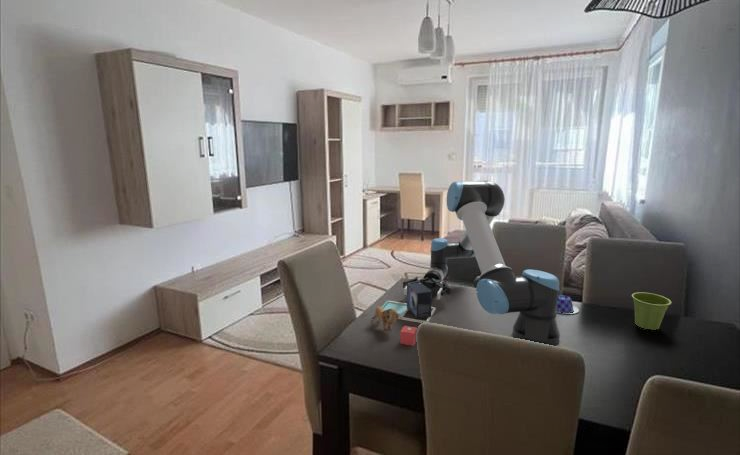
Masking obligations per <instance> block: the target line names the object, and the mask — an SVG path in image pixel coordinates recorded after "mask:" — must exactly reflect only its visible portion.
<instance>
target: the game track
mask: <svg viewBox="0 0 740 455" xmlns="http://www.w3.org/2000/svg"><path fill="white" fill-rule="evenodd" d="M381 307H382V308H383V309H384V311H385V310H388V309H391V308H392V309H393V308H394V309H396V310H395V311H396V312H397V313H399V314H400V316H399V317H398V319H397V320H402V321H408V322H412V323H413V322H415V323H420V324H423V323H422V322H428V323H429V322H430V320H431V318H432V317H433V315H434V313H435V312H436V307H435V306H434V307H433V306H431V317H427V318H426V320H422V319H418V318H416V319H415V318H409V317H406V316H405V315H406V314H407V313H408V311H409V310H408V309H407V302H401V301H393V300H386V301H385V302H384V304H383V305H382V306H381ZM378 317H379V315H378Z"/></svg>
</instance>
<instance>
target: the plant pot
mask: <svg viewBox="0 0 740 455" xmlns="http://www.w3.org/2000/svg"><path fill="white" fill-rule="evenodd" d="M631 297H632V298H633V306H634V307H633V308H634V325H635V324H636V325H637V326H639V327H641V328H644V329H643V330H646V329H651V330H656V329H658V330H659V329H660V327H661V325H662V324H661V323H662V322H663V319H664V316H665V313H666V312H667V310H668V308H669V306H670V305H672V301H671V299H669V298H667V297H665V296H663V295H661V294H660V295H659V294H656V293H651V292H644V291H643V292H641V291H640V292H639V291H638V292H634V293H632V294H631ZM636 325H635V326H636ZM637 326H636V327H637ZM639 327H638V328H639ZM641 328H640V329H641Z"/></svg>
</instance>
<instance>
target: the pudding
mask: <svg viewBox="0 0 740 455" xmlns="http://www.w3.org/2000/svg"><path fill="white" fill-rule="evenodd" d="M572 300H573V299H572V298H571V297H570V296H567V295H562V294H558V302H557V311H556V313H559V314H566V315H572V314H577V313H579V311H580V310H579V308H578V307H577V306H575V305H573V301H572ZM573 311H574V312H573ZM561 312H563V313H561ZM566 312H569V313H566ZM570 312H573V313H570Z"/></svg>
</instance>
